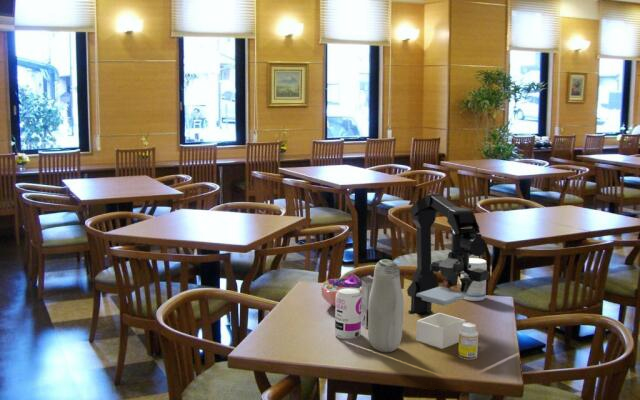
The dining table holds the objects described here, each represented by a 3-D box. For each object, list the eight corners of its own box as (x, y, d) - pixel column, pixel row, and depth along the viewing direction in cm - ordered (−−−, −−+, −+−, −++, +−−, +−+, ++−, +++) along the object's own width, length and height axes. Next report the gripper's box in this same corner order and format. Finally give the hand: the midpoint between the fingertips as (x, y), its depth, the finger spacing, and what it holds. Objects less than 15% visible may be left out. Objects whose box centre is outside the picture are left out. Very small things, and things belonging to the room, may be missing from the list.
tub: (415, 342, 226) (416, 320, 225) (438, 333, 235) (439, 312, 233) (442, 350, 219) (443, 328, 218) (464, 341, 228) (465, 320, 227)
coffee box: (385, 321, 246) (387, 275, 243) (391, 327, 239) (393, 280, 237) (359, 322, 243) (361, 276, 241) (365, 329, 237) (367, 281, 235)
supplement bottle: (463, 352, 218) (465, 320, 216) (480, 357, 214) (482, 324, 213) (454, 357, 213) (456, 324, 212) (471, 362, 210) (473, 329, 208)
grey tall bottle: (407, 352, 217) (411, 262, 213) (380, 358, 212) (383, 266, 207) (387, 342, 225) (390, 255, 221) (361, 348, 220) (363, 258, 215)
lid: (416, 300, 224) (416, 291, 224) (448, 290, 236) (449, 281, 236) (444, 308, 217) (445, 298, 216) (476, 297, 229) (476, 288, 228)
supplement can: (363, 333, 233) (364, 288, 230) (356, 342, 225) (357, 295, 223) (339, 330, 235) (340, 286, 233) (331, 338, 228) (332, 292, 225)
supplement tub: (490, 299, 274) (492, 261, 272) (472, 303, 269) (474, 264, 266) (472, 293, 282) (474, 256, 279) (454, 296, 277) (456, 259, 274)
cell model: (309, 305, 262) (310, 275, 260) (350, 296, 274) (351, 267, 273) (341, 317, 249) (341, 285, 247) (382, 307, 262) (383, 276, 260)
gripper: (421, 247, 229) (419, 295, 232) (471, 258, 216) (468, 308, 219) (441, 242, 237) (439, 288, 240) (491, 252, 224) (488, 301, 227)
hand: (458, 296), depth 231 cm, fingers closed on lid, 3 cm apart
